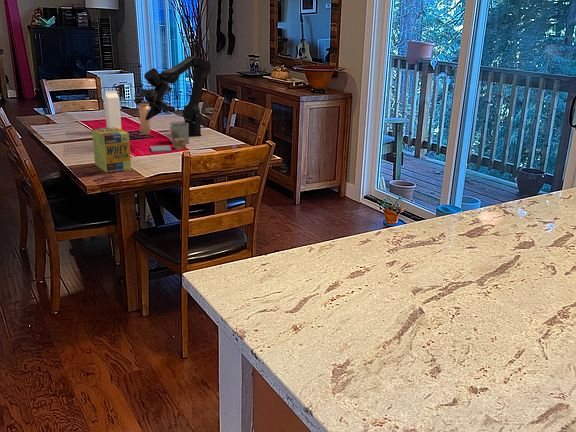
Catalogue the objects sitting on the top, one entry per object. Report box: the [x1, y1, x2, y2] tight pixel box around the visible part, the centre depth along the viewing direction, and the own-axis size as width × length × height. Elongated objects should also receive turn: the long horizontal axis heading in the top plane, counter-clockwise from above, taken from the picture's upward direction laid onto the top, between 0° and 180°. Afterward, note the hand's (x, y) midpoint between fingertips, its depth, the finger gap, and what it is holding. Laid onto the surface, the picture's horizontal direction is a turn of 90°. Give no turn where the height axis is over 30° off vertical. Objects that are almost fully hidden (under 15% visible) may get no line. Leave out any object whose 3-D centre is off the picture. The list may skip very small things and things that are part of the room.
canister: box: [138, 103, 152, 135], centre depth 264 cm, size 5×5×14 cm
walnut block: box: [172, 138, 187, 151], centre depth 267 cm, size 4×4×4 cm
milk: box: [103, 89, 122, 130], centre depth 291 cm, size 6×6×22 cm
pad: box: [149, 144, 173, 153], centre depth 264 cm, size 9×9×1 cm
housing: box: [169, 121, 190, 145], centre depth 278 cm, size 8×8×10 cm
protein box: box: [91, 127, 132, 174], centre depth 231 cm, size 10×15×16 cm
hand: (142, 119), depth 263 cm, fingers closed on canister, 5 cm apart
